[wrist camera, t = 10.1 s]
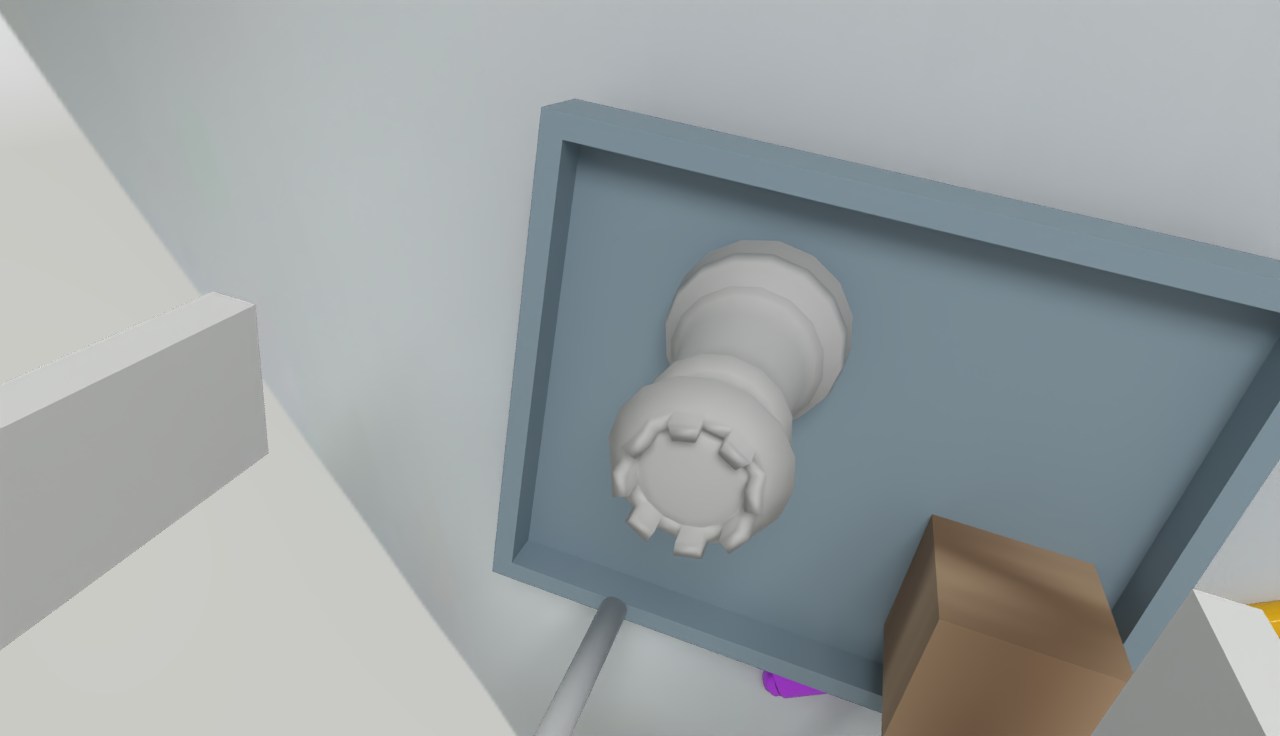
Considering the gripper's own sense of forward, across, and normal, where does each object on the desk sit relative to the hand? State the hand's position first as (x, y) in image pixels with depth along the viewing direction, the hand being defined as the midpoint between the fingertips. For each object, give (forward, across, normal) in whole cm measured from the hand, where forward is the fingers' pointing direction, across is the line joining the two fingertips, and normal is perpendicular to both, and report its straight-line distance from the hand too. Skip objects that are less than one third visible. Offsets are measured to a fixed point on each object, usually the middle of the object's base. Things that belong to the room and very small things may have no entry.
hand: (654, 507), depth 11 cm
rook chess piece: (+10, 0, -1) cm, 10 cm away
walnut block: (+9, +8, -7) cm, 14 cm away
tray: (+11, +3, -4) cm, 12 cm away
